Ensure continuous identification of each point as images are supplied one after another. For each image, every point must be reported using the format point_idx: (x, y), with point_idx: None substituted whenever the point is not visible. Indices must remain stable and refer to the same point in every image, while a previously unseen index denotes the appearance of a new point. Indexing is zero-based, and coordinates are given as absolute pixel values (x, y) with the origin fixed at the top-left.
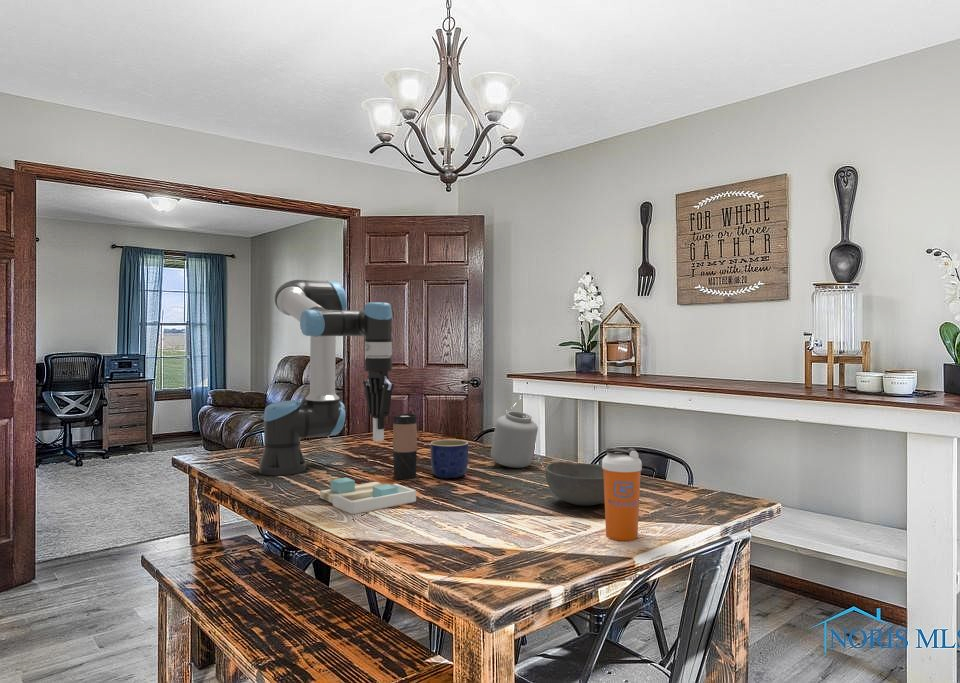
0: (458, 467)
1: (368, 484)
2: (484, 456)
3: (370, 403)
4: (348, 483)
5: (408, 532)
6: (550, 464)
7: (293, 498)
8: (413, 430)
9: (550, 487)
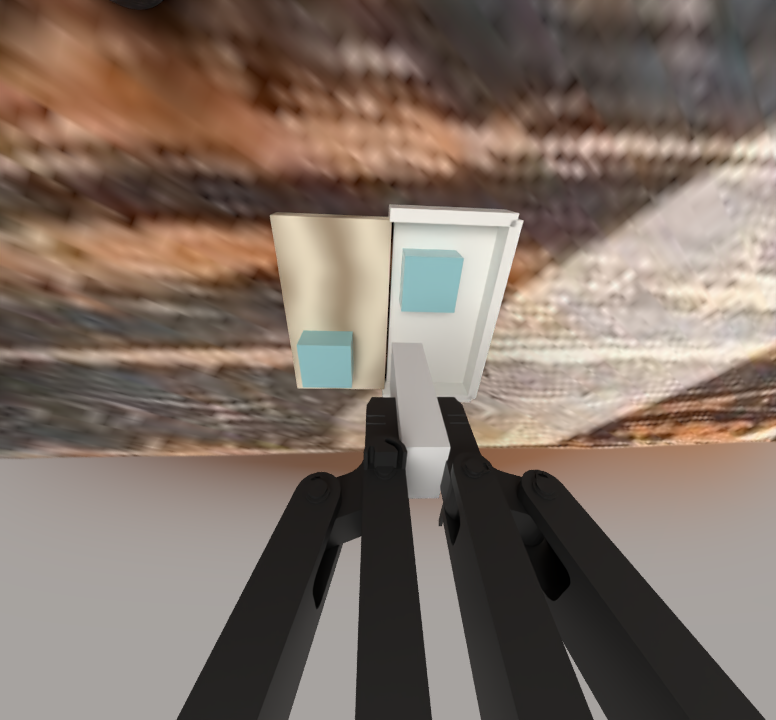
0: None
1: (300, 261)
2: None
3: (310, 640)
4: (351, 360)
5: (642, 369)
6: None
7: (273, 413)
8: None
9: None
